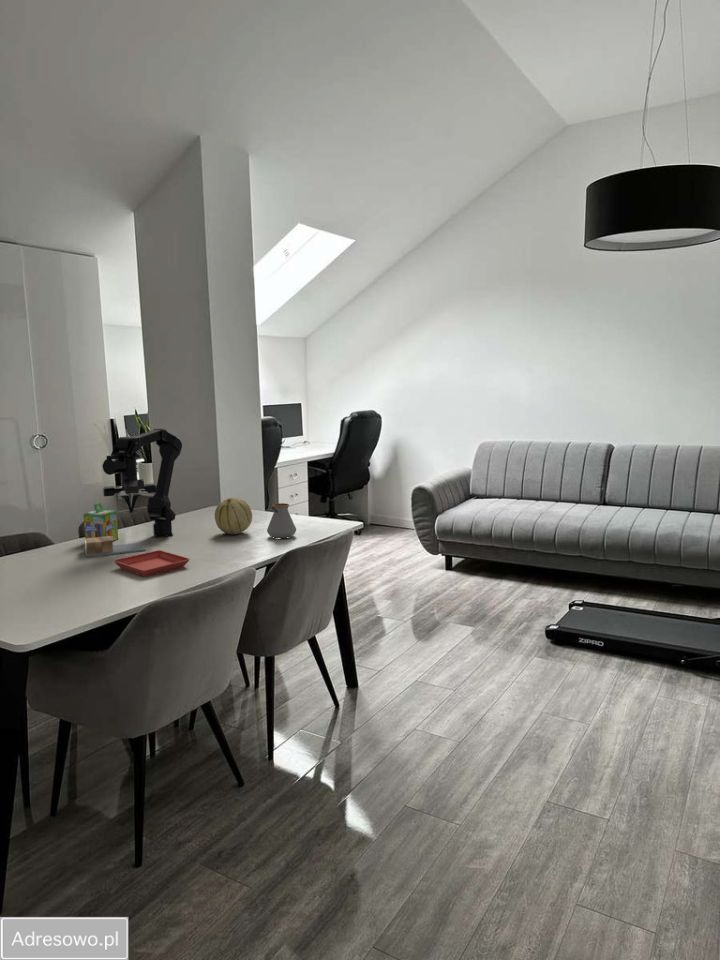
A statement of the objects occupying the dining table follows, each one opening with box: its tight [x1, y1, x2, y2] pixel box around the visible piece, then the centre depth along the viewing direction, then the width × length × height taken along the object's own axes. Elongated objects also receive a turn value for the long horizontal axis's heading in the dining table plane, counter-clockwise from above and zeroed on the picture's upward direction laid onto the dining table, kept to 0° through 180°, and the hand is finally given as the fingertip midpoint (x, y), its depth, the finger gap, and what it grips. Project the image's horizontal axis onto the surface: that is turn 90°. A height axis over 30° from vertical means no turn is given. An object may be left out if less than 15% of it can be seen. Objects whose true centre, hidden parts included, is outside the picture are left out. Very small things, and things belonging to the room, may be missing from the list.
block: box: [83, 536, 114, 555], centre depth 256 cm, size 4×8×9 cm
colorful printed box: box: [83, 502, 119, 542], centre depth 272 cm, size 9×9×15 cm
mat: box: [83, 542, 146, 558], centre depth 259 cm, size 20×12×1 cm, turn 114°
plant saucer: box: [113, 549, 190, 577], centre depth 235 cm, size 18×18×3 cm
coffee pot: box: [266, 502, 297, 539], centre depth 272 cm, size 21×12×15 cm, turn 174°
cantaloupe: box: [214, 497, 253, 535], centre depth 283 cm, size 15×15×15 cm
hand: (131, 512), depth 264 cm, fingers closed
